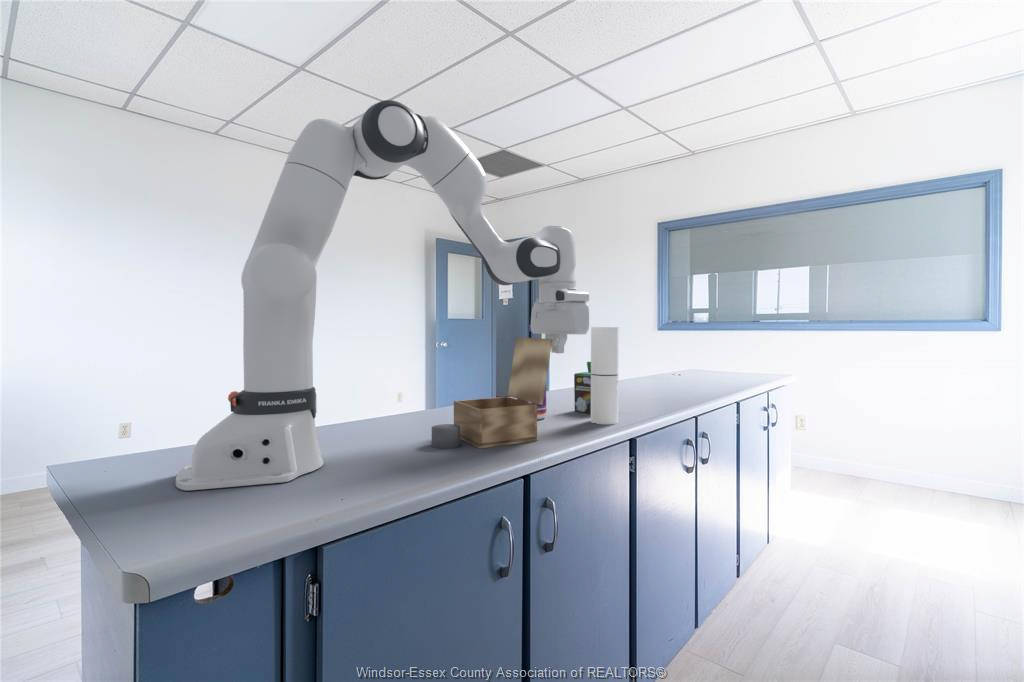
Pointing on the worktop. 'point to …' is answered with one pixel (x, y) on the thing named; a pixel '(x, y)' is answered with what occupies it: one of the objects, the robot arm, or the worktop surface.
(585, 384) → the chalk box
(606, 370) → the cylindrical container
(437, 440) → the smooth gray rounded object
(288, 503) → the worktop surface
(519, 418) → the box
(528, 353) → the lid
